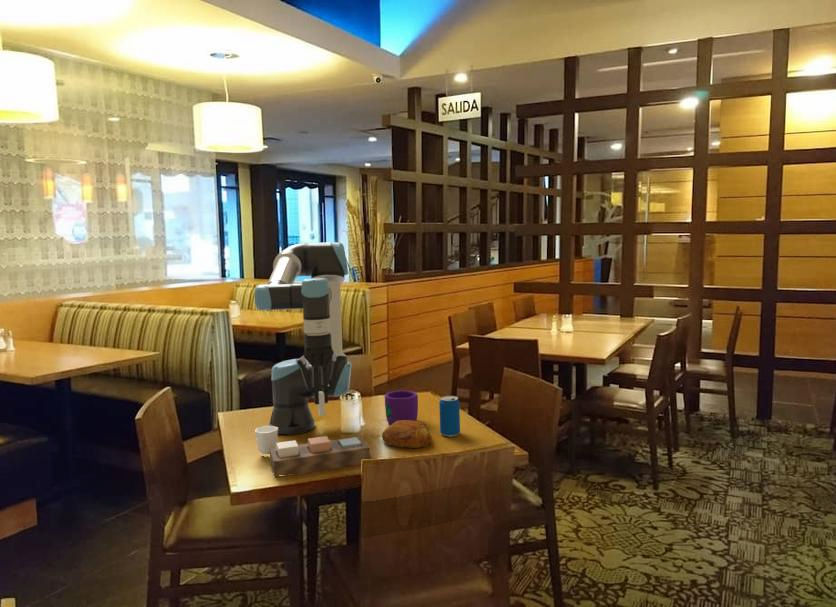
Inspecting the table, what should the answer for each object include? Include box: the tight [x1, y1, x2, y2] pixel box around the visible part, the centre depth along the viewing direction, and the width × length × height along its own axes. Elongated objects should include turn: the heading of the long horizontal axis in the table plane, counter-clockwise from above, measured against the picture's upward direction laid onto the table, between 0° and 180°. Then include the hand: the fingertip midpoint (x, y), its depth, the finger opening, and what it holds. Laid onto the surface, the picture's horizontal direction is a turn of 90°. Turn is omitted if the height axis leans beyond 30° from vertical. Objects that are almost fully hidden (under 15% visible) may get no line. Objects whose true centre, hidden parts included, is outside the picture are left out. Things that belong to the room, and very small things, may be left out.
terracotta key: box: [307, 435, 330, 453], centre depth 182 cm, size 5×5×4 cm
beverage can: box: [438, 395, 461, 438], centre depth 204 cm, size 6×6×12 cm
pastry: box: [381, 420, 432, 449], centre depth 199 cm, size 14×16×8 cm
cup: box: [254, 425, 279, 454], centre depth 192 cm, size 7×10×8 cm
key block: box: [269, 435, 371, 477], centre depth 183 cm, size 27×11×4 cm, turn 109°
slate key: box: [339, 437, 361, 449], centre depth 186 cm, size 5×5×4 cm
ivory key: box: [276, 439, 299, 458], centre depth 180 cm, size 5×5×4 cm
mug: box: [384, 389, 419, 425], centre depth 222 cm, size 17×11×10 cm, turn 26°
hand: (321, 414), depth 182 cm, fingers closed
